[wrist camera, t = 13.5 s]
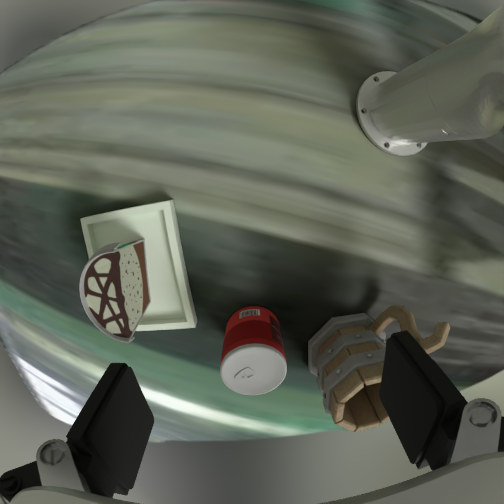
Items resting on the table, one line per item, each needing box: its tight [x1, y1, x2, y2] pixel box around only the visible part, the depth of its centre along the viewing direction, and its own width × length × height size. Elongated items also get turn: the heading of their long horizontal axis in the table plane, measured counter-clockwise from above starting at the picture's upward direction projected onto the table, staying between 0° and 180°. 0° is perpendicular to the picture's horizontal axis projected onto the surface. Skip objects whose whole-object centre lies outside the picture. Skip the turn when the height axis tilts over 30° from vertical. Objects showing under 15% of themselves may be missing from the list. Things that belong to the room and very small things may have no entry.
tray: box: [80, 199, 198, 331], centre depth 39 cm, size 14×18×2 cm
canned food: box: [220, 306, 287, 395], centre depth 37 cm, size 8×8×11 cm
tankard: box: [308, 306, 450, 432], centre depth 36 cm, size 20×13×15 cm, turn 141°
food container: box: [80, 239, 151, 343], centre depth 35 cm, size 12×6×10 cm, turn 179°
